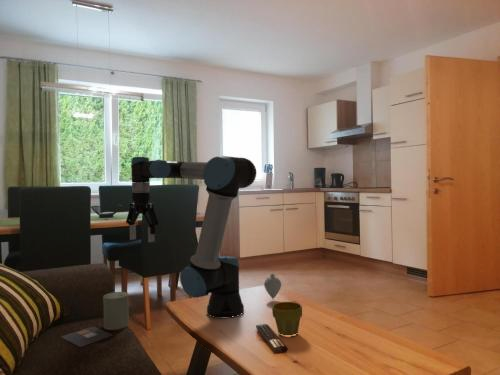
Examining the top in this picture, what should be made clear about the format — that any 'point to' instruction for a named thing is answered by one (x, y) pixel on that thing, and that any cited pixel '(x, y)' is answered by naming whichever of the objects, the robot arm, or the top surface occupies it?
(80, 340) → the tile
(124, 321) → the can
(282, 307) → the plant pot
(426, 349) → the top surface
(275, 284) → the spinning top
